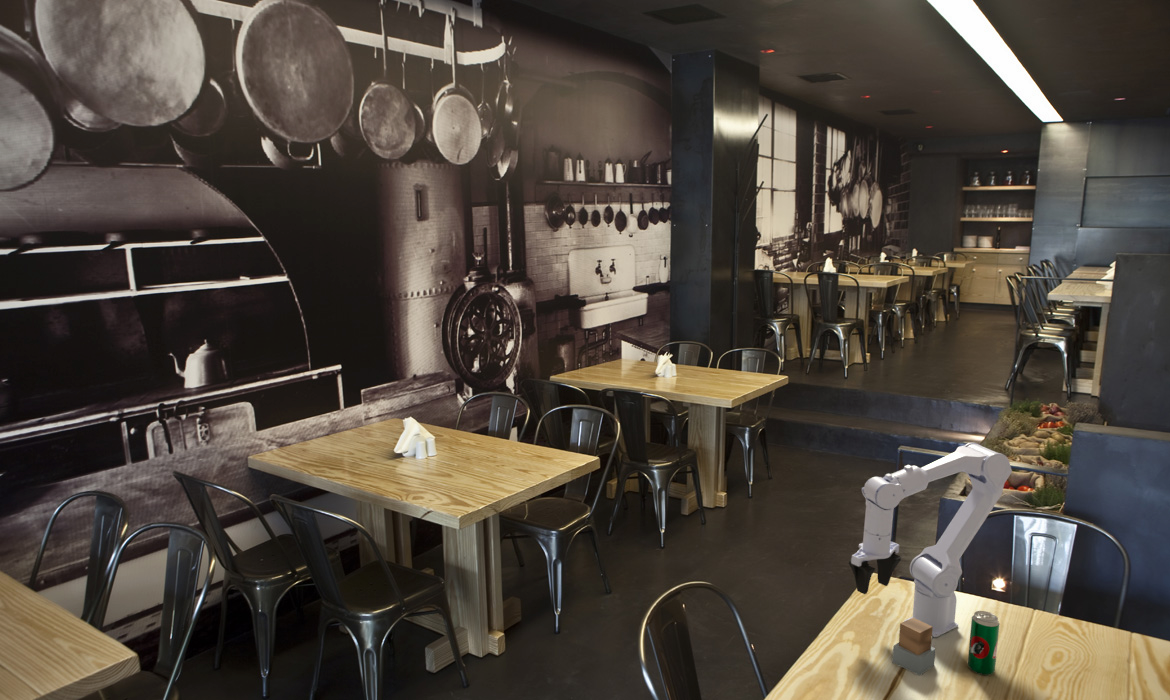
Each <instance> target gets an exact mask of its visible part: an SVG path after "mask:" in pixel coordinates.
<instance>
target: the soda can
mask: <svg viewBox="0 0 1170 700" xmlns="http://www.w3.org/2000/svg"><path fill="white" fill-rule="evenodd" d="M999 632H1000V622H999V617H998V616H997V615H996V614H994V613H992V612H991V611H990V612H989V611H985V610H977V611H976V610H975V611H974V613H973V615H972V617H971V623H970V634H969V635H970V636H969V645H968V655H967V666H968V667H969V669H970V670H971V671H973V673H976V674H979V675H982V676H990V675H992V674H994V673H995V671H996V664H997V663H996V662H997V654H998V644H999V643H998V641H999V634H1000V633H999Z"/></svg>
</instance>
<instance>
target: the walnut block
mask: <svg viewBox="0 0 1170 700" xmlns="http://www.w3.org/2000/svg"><path fill="white" fill-rule="evenodd" d="M910 618H911V617H910ZM908 619H909V618H908ZM905 620H906V621H904V620H903V621H902V622H900V623H899V634H898V635H899V636H898V643H899V646H901V647H903V648H905V649H907V650H909V651H911V652H912V653H914V654H916V655H920V654H922V653H924V652H926V651H928V650H930V649H931V647H932V639H933V637H932V629H933V627H932V626H930V625H928V624H926V623H924V622H922V621H920V620H917V619H915V618H911V619H909V620H907V619H905Z"/></svg>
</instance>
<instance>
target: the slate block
mask: <svg viewBox="0 0 1170 700" xmlns="http://www.w3.org/2000/svg"><path fill="white" fill-rule="evenodd" d="M892 648H893V649H892V659H891V660H892V663H893V664H895V665H897V666H899V667H900V668H903V669H905V670H907V671H908V672H909V671H910V672H912V673H913V674H916V675H918V677H919V676H921V675H923V674H924V673H926V672H927V671H928V670H930V669H931V668H933V667H934V666H935V660H936V648H935V647H933V646H931V649H930V650H928V651H926V652H924V653H922V654H920V655H916V654H914V653H912V652H911V651H909V650H907V649H905V648H903V647H901V646H899V642H897V643H896V644H894V645H893V647H892Z"/></svg>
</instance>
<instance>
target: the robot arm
mask: <svg viewBox="0 0 1170 700" xmlns="http://www.w3.org/2000/svg"><path fill="white" fill-rule="evenodd" d="M959 473H965V474H966V475H967V476H968V478H969V480H970V483H971V487H972V488H971V490H970V492H969V493H968V495H967V496H966V498H965V500H964V501H963V503H962V504H961V505H960V507H959V508H958V510H957V512H956V513H955V514H954V516H953V518H952V520H951V521H950V523H949V524H948V525H947V527H946V528H945V530H944V532H943V533H942V535H941V536H940V538H939V539H938V541H937V542H936V544H935V545H931V546H927V547H924V549H923V550H922V552H920V554H918V555H916V556H915V557H914V558H912V560H911V562H910V564H909V573H910V575H911V576H912V578H914V580H913V583H914V596H913V605H912V606H913V607H912V616H911V617H909V618H907V619H905V620H903V622H904V621H906V620H909V619H911V618H915V619H917V620H920V621H922V622H924V623H926V624H928V625H930V626H932V627H933V629H932V638H938V637H939V636H942V635H944V634H945V633H948V632H950V631H952V630H954V629H956V628H957V627H959V623H958V622H957V623H956V611H957V610H956V609H957V596H956V593H955V591H956V590H957V587H958V585H959V584H958V583H959V579H960V577H961V576H962V574H963V570H962V567H961V563H960V559H961V557H962V555H963V554H964V553H965V551H966V550H967V548H968V547H969V545H970V544H971V542H972V541H973V539H974V538H975V536H976V534H977V533H978V531H979V530H980V528H981V527H982V525H984V522H985V521H986V520H987V518H988V516H989V515H990V513H991V512H992V511H993V508H994V507H995V506H996V504H997V503H998V501H999V500H1000V498H1001V496H1002V495H1003V490H1004V487H1005V483H1006V482H1007V480H1008V479H1009V477H1010V476H1011V474H1012V473H1013V470H1012V466H1011V463H1010V460H1009V458H1008V457H1007V455H1005V454H1004V453H1001V452H997V451H994V450H992V449H990V448H987V447H985V446H982V445H981V444H979V443H977V442H967V443H966V444H964V445H960V446H958V447H957V448H956V450H955V451H954V452H951V453H948V455H946V456H943V457H941V458H939V459H937V460H935V461H933V462H931V463H929V464H926V465H924V466H922V467H919V466H917V465H910V464H907V465H904V467H903V469H900V470H897V471H894V472H893V473H886V474H884V476H883V477H882V476H873V477H871V478H869V479H868V480H867V481H866V482H865V483H864V486H863V487H861V493H862V496H863V497H864V498H865V514H864V515H865V516H864V526H863V539H862V542H861V543H859V544H858V548H859V549H858V550H857V552H856V551H855V553H854V554H852V555H851V558H849V560H848V564H849V567H850V569H851V570H852V573H853V576H854V580H855V585H856V590H857V592H859V593H861V594H863V595H867V594H868V592H869V588H870V583H871V578H872V576H873V573H874V572H875V570H876V568H875V567H873V566H871V565H870V563H868V562H870V561H873V560H874V561H875V560H876V564H877V565H876V566H877V583H878V584H881V585H882V586H884V587H888V586H889V584H890V581H891V578H892V577H893V573H894V571H895V569H896V567H897V566H898V564H899V563H900V562H901V561H902V557H901V555H898V554H899V552H900V544H898V543H896V542H894V541H891V540H892V531H893V518H894V508H896V507H897V506H898V505H899V504H900V502H901V501H902V500H904V498H907V497H910V496H912V495H914V494H917V493H919V492H922V491H924V490H926V489H927V487H928V485H929V483H930V482H933V481H937V480H939V479H943V478H946V477H948V476H952V475H954V474H959Z"/></svg>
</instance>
